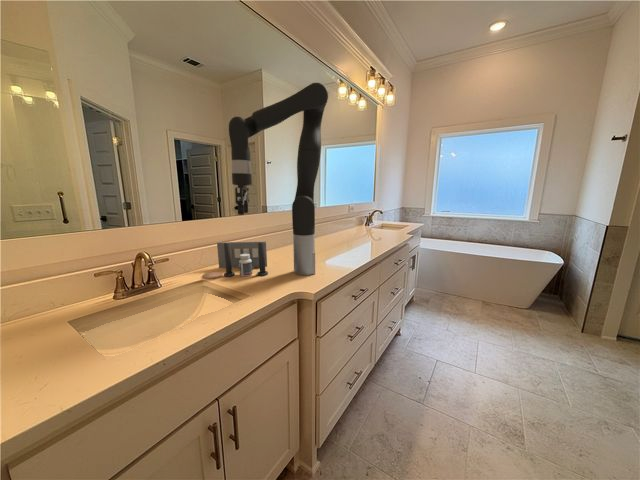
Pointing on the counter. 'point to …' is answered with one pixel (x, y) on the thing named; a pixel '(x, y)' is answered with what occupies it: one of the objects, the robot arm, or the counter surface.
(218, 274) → the coaster
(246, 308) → the counter surface
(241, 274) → the pill bottle
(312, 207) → the robot arm
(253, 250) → the panel
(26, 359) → the counter surface
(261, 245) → the post
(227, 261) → the post
